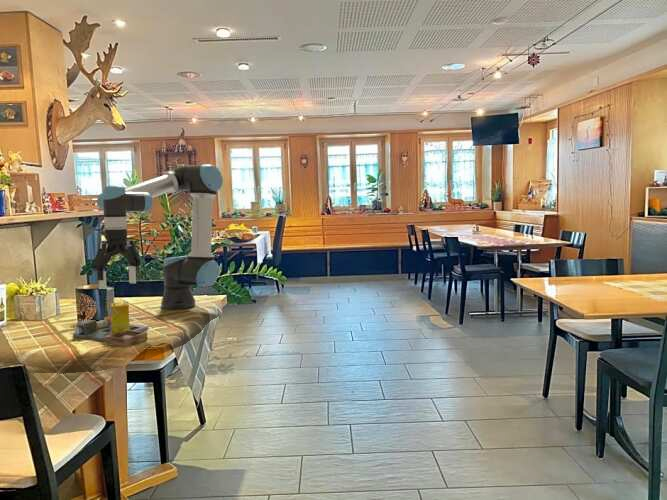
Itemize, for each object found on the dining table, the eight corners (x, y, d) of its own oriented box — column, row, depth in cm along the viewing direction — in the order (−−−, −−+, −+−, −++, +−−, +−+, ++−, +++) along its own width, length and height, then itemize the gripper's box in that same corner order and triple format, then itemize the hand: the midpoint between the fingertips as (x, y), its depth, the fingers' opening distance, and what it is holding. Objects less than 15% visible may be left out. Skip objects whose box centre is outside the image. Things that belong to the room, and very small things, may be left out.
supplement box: (112, 331, 187) (110, 303, 186) (129, 329, 189) (128, 301, 188) (112, 335, 181) (110, 306, 180) (130, 333, 184) (128, 304, 183)
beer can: (105, 321, 203) (103, 291, 202) (84, 319, 205) (83, 290, 203) (119, 315, 212) (118, 287, 211) (100, 314, 214) (98, 286, 213)
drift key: (106, 324, 191) (105, 316, 191) (111, 325, 190) (111, 317, 190) (74, 333, 179) (73, 325, 178) (79, 334, 177) (79, 326, 177)
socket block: (113, 324, 196) (112, 312, 196) (148, 329, 189) (147, 316, 188) (73, 336, 180) (72, 323, 180) (109, 342, 173) (108, 328, 172)
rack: (127, 336, 180) (126, 329, 179) (147, 339, 176) (147, 332, 175) (105, 343, 171) (104, 336, 171) (125, 347, 167) (125, 339, 167)
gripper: (134, 226, 194) (136, 280, 196) (78, 230, 171) (81, 290, 173) (149, 227, 191) (151, 281, 193) (94, 230, 168) (97, 292, 170)
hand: (118, 286), depth 183 cm, fingers open, 13 cm apart
